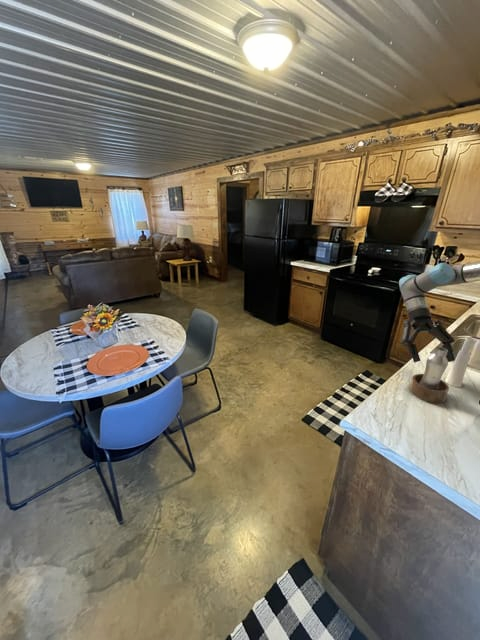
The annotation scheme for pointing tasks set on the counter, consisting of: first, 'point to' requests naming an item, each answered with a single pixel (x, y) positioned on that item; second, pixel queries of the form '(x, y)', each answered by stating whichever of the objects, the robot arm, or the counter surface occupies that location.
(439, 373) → the plastic bottle
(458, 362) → the cosmetic bottle
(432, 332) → the robot arm
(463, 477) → the counter surface
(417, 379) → the holder
